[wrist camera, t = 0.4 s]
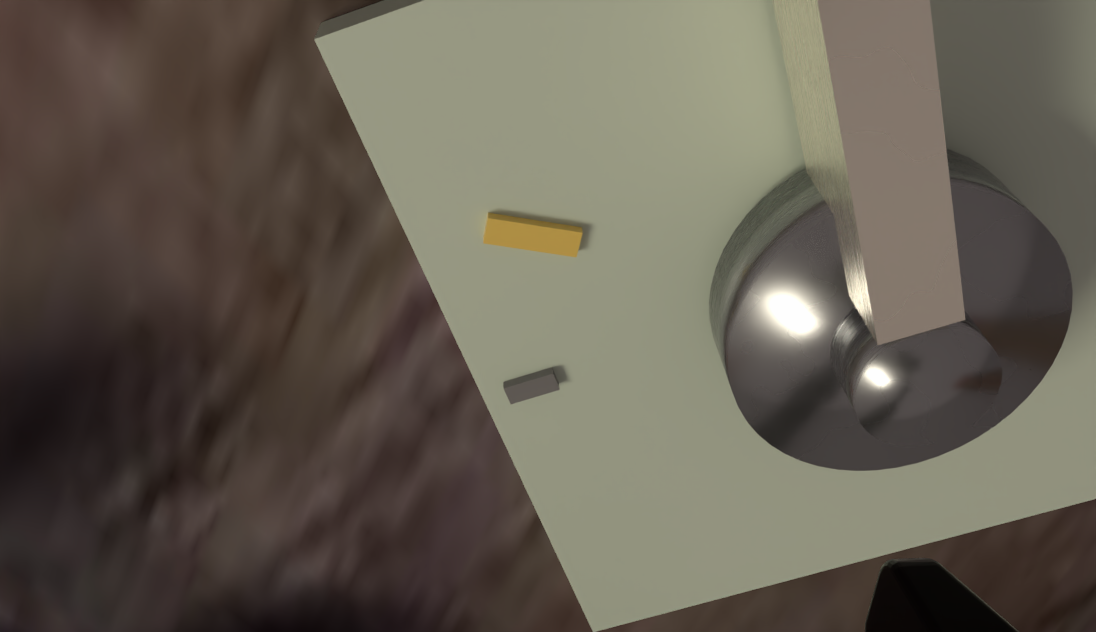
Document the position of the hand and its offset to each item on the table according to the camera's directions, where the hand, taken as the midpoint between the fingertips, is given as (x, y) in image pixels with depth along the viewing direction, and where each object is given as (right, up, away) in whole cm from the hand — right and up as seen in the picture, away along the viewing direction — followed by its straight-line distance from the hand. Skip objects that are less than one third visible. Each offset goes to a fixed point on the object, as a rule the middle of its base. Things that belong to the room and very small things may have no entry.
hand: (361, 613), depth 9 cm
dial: (+8, +5, +12) cm, 15 cm away
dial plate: (+9, +4, +15) cm, 17 cm away
